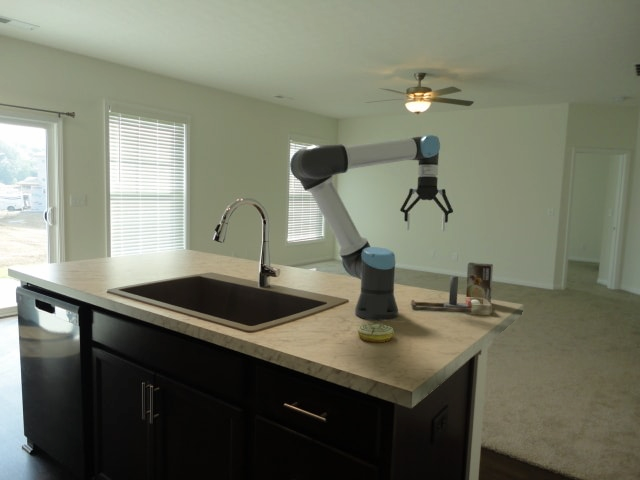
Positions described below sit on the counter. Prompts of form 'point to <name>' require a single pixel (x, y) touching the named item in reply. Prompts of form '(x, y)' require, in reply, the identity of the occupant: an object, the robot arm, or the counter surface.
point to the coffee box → (479, 280)
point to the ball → (474, 302)
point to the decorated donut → (375, 332)
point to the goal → (481, 306)
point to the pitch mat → (440, 311)
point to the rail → (441, 307)
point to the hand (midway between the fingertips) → (425, 230)
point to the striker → (455, 296)
